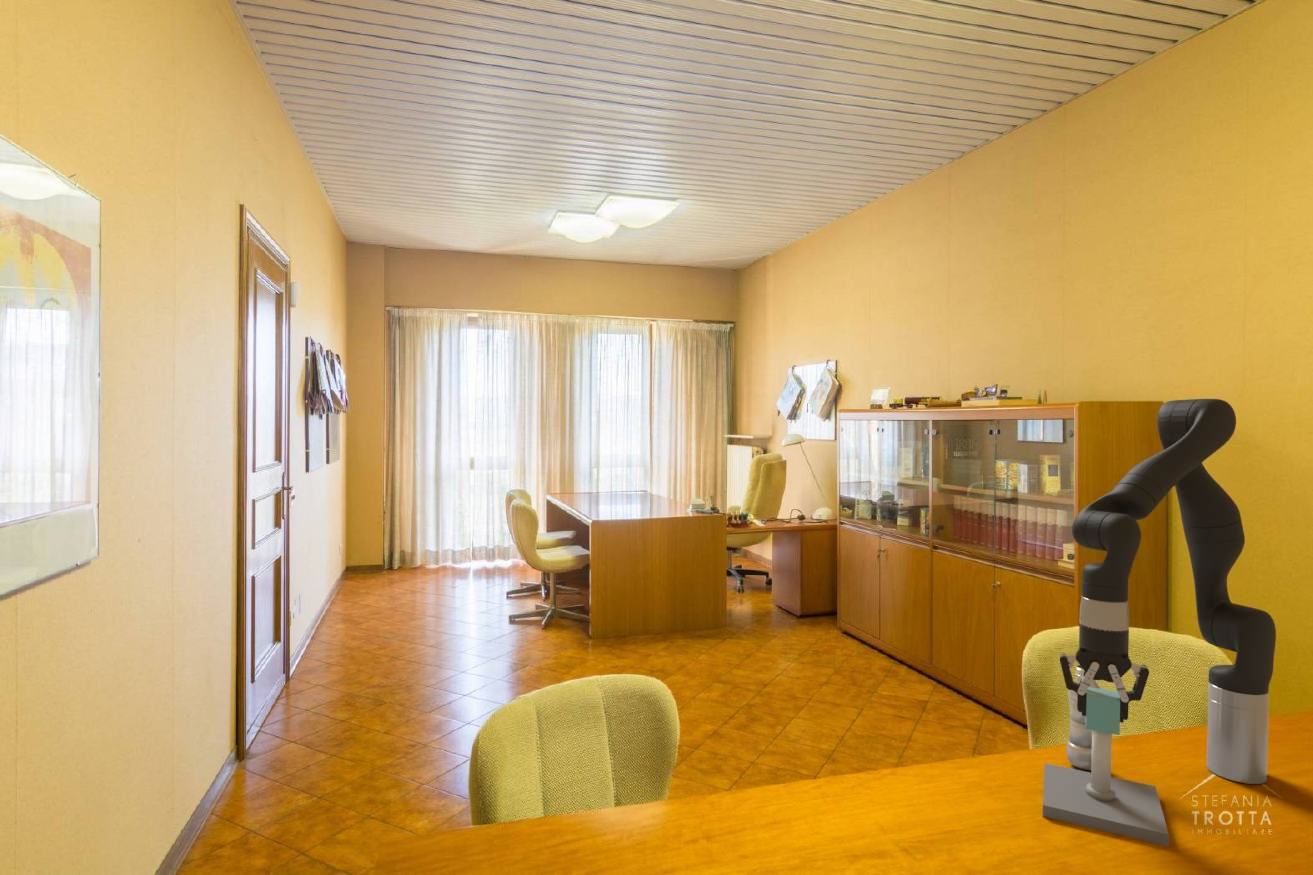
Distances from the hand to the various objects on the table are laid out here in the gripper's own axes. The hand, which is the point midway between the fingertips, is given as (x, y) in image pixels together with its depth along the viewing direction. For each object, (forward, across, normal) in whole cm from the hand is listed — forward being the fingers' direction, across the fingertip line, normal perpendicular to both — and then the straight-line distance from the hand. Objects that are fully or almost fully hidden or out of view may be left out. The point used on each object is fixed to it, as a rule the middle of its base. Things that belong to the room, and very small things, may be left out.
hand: (1101, 717), depth 129 cm
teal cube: (+2, 0, 0) cm, 2 cm away
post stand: (+16, 0, 0) cm, 16 cm away
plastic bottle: (+16, +2, -16) cm, 23 cm away
